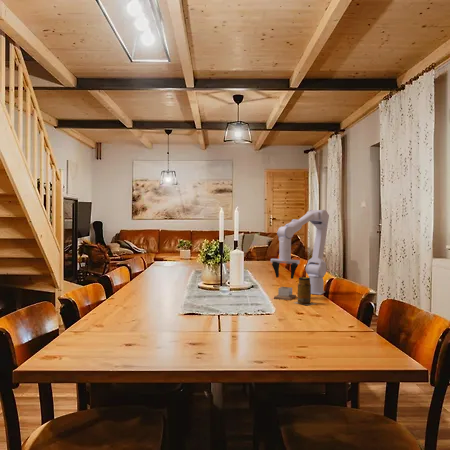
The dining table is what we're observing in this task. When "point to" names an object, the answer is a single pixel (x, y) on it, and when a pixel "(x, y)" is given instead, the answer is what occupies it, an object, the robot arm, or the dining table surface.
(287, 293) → the block with square hole
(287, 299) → the block
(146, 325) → the dining table surface
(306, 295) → the condiment
